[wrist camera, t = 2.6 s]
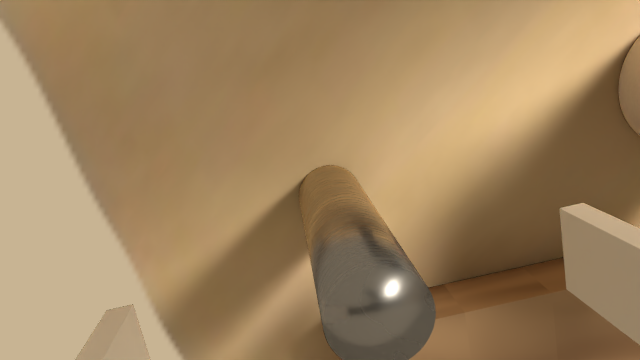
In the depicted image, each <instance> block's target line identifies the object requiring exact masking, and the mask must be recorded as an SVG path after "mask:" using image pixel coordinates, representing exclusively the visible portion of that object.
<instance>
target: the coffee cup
mask: <svg viewBox="0 0 640 360" xmlns="http://www.w3.org/2000/svg"><path fill="white" fill-rule="evenodd" d="M619 101H620V106H621V110H622V112H623V115H624V117H625V119H626V121H627V122H628V124H629V125H630V126H631V128H632V129H633V130H634V131H635V132H636V133H637V134H639V135H640V36H639V38H638V39H637V40H636V41H635V43H634V44H633V46H632V47H631V49H630V50H629V52H628V54H627V56H626V58H625V60H624V63H623V66H622V69H621V73H620V78H619Z"/></svg>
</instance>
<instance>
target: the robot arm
mask: <svg viewBox="0 0 640 360" xmlns="http://www.w3.org/2000/svg"><path fill="white" fill-rule="evenodd" d="M559 210H560V222H561V233H562V244H563V256H564V267H565V279H566V289H567V290H568V291H570V292H571V293H572V294H573V295H575V296H576V297H577V298H579V299H580V300H581V301H583V302H584V303H585V304H587V305H588V306H589V307H590V308H592V309H593V310H594V311H596V312H597V313H598V314H600V315H601V316H602V317H604V318H605V319H606V320H607V321H609V322H610V323H611V324H613V325H614V326H615V327H617V328H618V329H619V330H621V331H622V332H623V333H624V334H626V335H627V336H628V337H630V338H631V339H632V340H634V341H635V342H636V343H638V344H639V345H640V228H638V227H636V226H633V225H631V224H629V223H627V222H625V221H622V220H620V219H618V218H616V217H614V216H611V215H609V214H607V213H605V212H602V211H600V210H598V209H596V208H594V207H591V206H589V205H587V204H585V203H580V204H575V205H571V206H566V207H562V208H559ZM76 360H150V357H149V354H148V351H147V348H146V345H145V342H144V338H143V335H142V332H141V329H140V326H139V322H138V319H137V316H136V313H135V310H134V306H133V304H132V305H128V306H123V307H119V308H115V309H110V310H107V311H106V312H105V314H104V316H103V317H102V319H101V320H100V322H99V323H98V325H97V326H96V328H95V330H94V331H93V333H92V334H91V336H90V337H89V339H88V341H87V342H86V344H85V345H84V347H83V349H82V350H81V352H80V353H79V355H78V356H77V358H76Z"/></svg>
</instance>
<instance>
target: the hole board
mask: <svg viewBox="0 0 640 360" xmlns="http://www.w3.org/2000/svg"><path fill="white" fill-rule="evenodd" d="M428 289H429V290H430V292H431V294H432V297H433V299H434V303H435V309H436V318H435V324H434V328H433V331H432V333H431V335H430V337H429V339H428V341H427V342H426V344H425V345H424V346H423V348H422V349H421V350H420V351H419V352H418V353H417V354H416V355H414V356H413V357H412V358H410V359H409V360H640V345H639V344H638V343H636V342H635V341H634V340H632V339H631V338H630V337H628V336H627V335H626V334H624V333H623V332H622V331H621V330H619V329H618V328H617V327H615V326H614V325H613V324H611V323H610V322H609V321H607V320H606V319H605V318H604V317H602V316H601V315H600V314H598V313H597V312H596V311H594V310H593V309H592V308H590V307H589V306H588V305H587V304H585V303H584V302H583V301H581V300H580V299H579V298H577V297H576V296H575V295H573V294H572V293H571V292H570V291H568V290H567V289H566V279H565V267H564V258H560V259H555V260H551V261H546V262H542V263H537V264H533V265H528V266H524V267H519V268H515V269H511V270H506V271H502V272H497V273H493V274H488V275H484V276H479V277H475V278H470V279H466V280H462V281H457V282H453V283H448V284H444V285H439V286H435V287H430V288H428Z"/></svg>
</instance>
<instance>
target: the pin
mask: <svg viewBox="0 0 640 360" xmlns="http://www.w3.org/2000/svg"><path fill="white" fill-rule="evenodd" d="M299 202H300V207H301V212H302V218H303V223H304V228H305V234H306V239H307V245H308V250H309V255H310V261H311V266H312V271H313V277H314V282H315V287H316V293H317V298H318V304H319V309H320V314H321V320H322V325H323V330H324V334H325V337H326V340H327V342H328V344H329V346H330V347H331V349H332V350H333V351H334V352H335V353H336V355H338V356H339V357H340V358H341V359H343V360H409V359H410V358H412V357H413V356H414V355H416V354H417V353H418V352H419V351H420V350H421V349H422V348H423V346H424V345H425V344H426V342H427V341H428V339H429V337H430V335H431V333H432V331H433V328H434V324H435V318H436V309H435V303H434V299H433V297H432V294H431V292H430V290H429V289H428V287H427V285H426V284H425V282H424V281H423V279H422V278H421V276H420V275H419V273H418V272H417V270H416V269H415V267H414V266H413V264H412V263H411V261H410V260H409V258H408V257H407V255H406V254H405V252H404V251H403V249H402V248H401V246H400V245H399V243H398V242H397V240H396V239H395V237H394V236H393V234H392V233H391V231H390V230H389V228H388V226H387V225H386V223H385V222H384V220H383V219H382V217H381V216H380V214H379V213H378V211H377V210H376V208H375V207H374V205H373V204H372V202H371V201H370V199H369V198H368V196H367V195H366V193H365V192H364V190H363V189H362V187H361V186H360V184H359V183H358V181H357V180H356V178H355V177H354V176H353V175H352V174H351V173H350V172H349V171H348V170H346V169H344V168H342V167H339V166H334V165H327V166H322V167H319V168H316V169H315V170H313V171H312V172H310V173H309V174H308V175H307V176H306V177H305V179H304V180H303V182H302V184H301V186H300V190H299Z"/></svg>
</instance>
